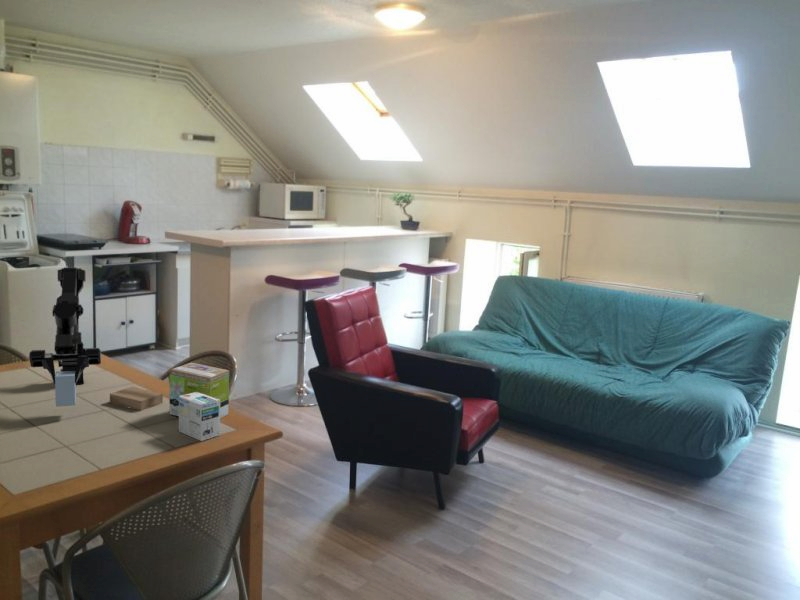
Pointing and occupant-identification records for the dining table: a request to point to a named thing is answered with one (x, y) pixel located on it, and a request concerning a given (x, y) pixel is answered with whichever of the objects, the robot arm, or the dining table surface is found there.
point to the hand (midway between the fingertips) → (65, 382)
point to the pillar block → (65, 388)
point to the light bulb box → (199, 416)
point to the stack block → (136, 398)
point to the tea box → (199, 385)
